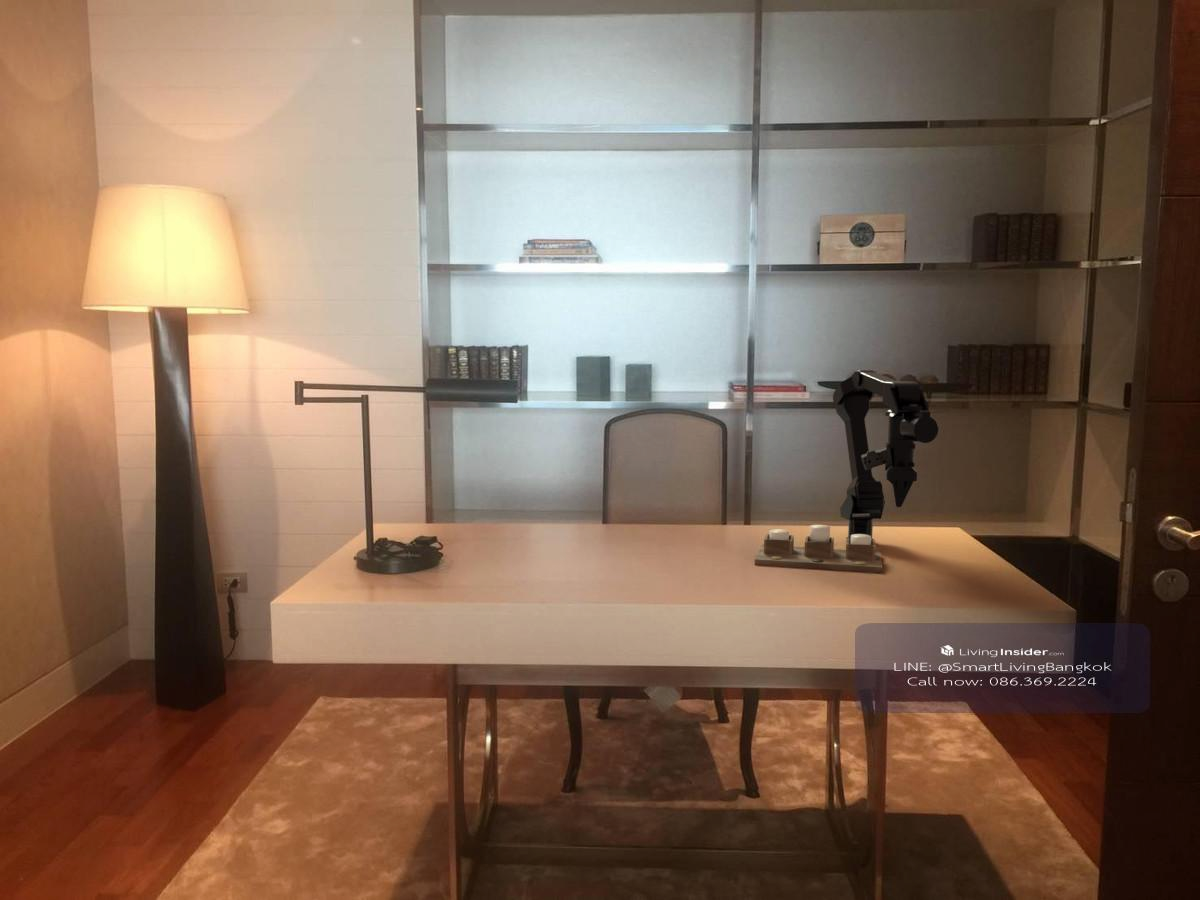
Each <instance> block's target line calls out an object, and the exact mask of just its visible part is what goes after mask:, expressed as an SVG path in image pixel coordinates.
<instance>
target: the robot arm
mask: <svg viewBox="0 0 1200 900" xmlns="http://www.w3.org/2000/svg"><path fill="white" fill-rule="evenodd" d="M875 395H877V396H879V397H882V403H884V404H885V405H886V406H887V407H888V408H889V409H888V410H887V411H886V412H885V413H884V415H885V416H886V417H888V436H887V442H886V443H885V447H884V448H879V449H876V450H875V449H872V450H870V449H869V442H868V434H867V427H866V425H867V424H866V420H865V419H866V417H867V415H868V412H869V411H870V409H871V408H870V407H871V403H870V402H871V401H872V399H873V398H874V396H875ZM832 401H833V404H834V405H835V410H836V414H837V415H838V416H839V417H840V419H841V420H842V421H843V422H844V423H843V424H844V427H845V435H846V443H847V452H848V459H849V466H850V475H851V480H850V482H849V485H848V487H847V489H846V498H845V500H844V502H843V503H842V505H841V506H840V508H839V512H840V517H841V518H843V519H845V520H848V527H847V528H848V530H847V532H848V533H847V537H846V539H845V541H846V540H847V538H849V539H851V535H853V534H865V535H870V536H871V540H875V539H874V538H873V527H874V524H873V523H874V520H876V519H878V520H882V516H883V511H884V507H885V504H886V501H885V495H884V491H883V484H882V482H881V480H880V481H877V480H876V479H875V477H874V476H873V470H872V469H873V468H876V467H879V466H882V465H884V471H886V473H885V478H886V481H888V482H889V483H890V484H891V485H892V489H893V494H894V495H893V496H894V501H895V508H902V506H903V504H904V502H905V499H906V497H907V495H908V494H909V492H910V490H911V487H912V485H913V484H914V482H917V480H918V479H917V477H918V472H917V470H916V469H915V449H916V443H923V444H929V443H931V442H932V441H934V440H935V439H936V438H937V436H938V434H939V426H938V422H937V421H936V420H935V419H934V418H933V417H931V411H930V409H929V403H928V402H927V399H926V397H925V394H924V392H923V389H922V387H921V384H919V383H918V382H916V381H903V380H902V381H900V380H898V381H897V380H895V379H892V378H890V377H888V376H885V375H883V374H880V373H878V372H876V371H875V370H873V369H872V370H871V369H869V370H868V369H861V370H856V371H854V372H853V373H852V375H851V376H850V377H848V378H846V379H845V380H843V381H841V382H840V383H839V384H838V386H837V387H836V388H835V390H834V392H833V393H832Z"/></svg>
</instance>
